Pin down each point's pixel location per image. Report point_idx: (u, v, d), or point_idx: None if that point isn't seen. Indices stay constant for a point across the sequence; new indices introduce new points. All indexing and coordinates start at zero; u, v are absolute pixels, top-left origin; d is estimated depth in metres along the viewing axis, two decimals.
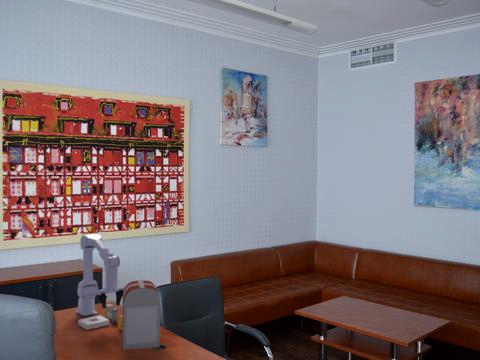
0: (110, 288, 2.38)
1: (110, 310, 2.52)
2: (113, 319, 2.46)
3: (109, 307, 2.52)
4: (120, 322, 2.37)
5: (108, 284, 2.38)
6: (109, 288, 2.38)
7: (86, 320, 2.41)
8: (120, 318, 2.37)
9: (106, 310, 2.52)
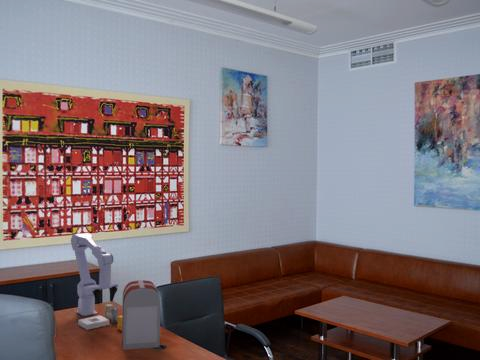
0: (103, 284, 2.47)
1: (110, 310, 2.53)
2: (113, 319, 2.46)
3: (109, 307, 2.52)
4: (119, 322, 2.36)
5: (102, 281, 2.47)
6: (102, 284, 2.47)
7: (86, 320, 2.41)
8: (119, 318, 2.36)
9: (106, 310, 2.52)
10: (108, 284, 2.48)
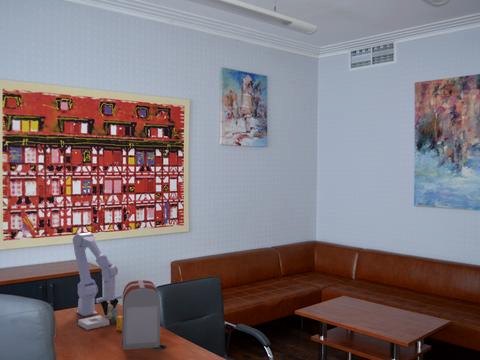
0: (108, 296, 2.51)
1: (110, 310, 2.52)
2: (113, 319, 2.46)
3: (109, 307, 2.52)
4: (118, 323, 2.36)
5: (106, 293, 2.51)
6: (107, 296, 2.51)
7: (86, 320, 2.41)
8: (118, 319, 2.36)
9: None
10: (112, 296, 2.52)
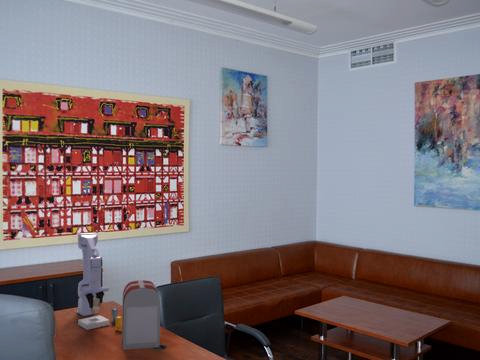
0: (93, 289, 2.40)
1: (96, 304, 2.41)
2: (113, 319, 2.46)
3: (95, 301, 2.41)
4: (117, 323, 2.35)
5: (91, 285, 2.40)
6: (92, 289, 2.40)
7: (86, 320, 2.41)
8: (117, 319, 2.35)
9: None
10: (98, 288, 2.41)
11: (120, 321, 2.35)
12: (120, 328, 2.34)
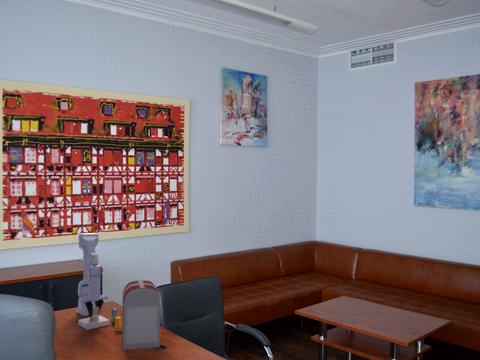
0: (93, 297, 2.40)
1: (95, 312, 2.41)
2: (113, 319, 2.46)
3: (94, 309, 2.40)
4: (116, 324, 2.35)
5: (91, 293, 2.40)
6: (91, 297, 2.39)
7: (86, 320, 2.41)
8: (116, 320, 2.35)
9: None
10: (97, 296, 2.41)
11: (119, 321, 2.35)
12: (119, 328, 2.34)
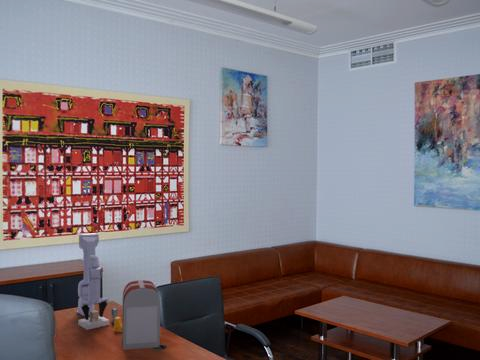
0: (93, 300, 2.40)
1: (95, 316, 2.41)
2: (113, 319, 2.46)
3: (94, 313, 2.41)
4: (116, 324, 2.34)
5: (91, 296, 2.40)
6: (91, 300, 2.40)
7: (86, 320, 2.41)
8: (116, 320, 2.34)
9: (91, 316, 2.41)
10: (97, 299, 2.41)
11: (119, 322, 2.34)
12: (119, 329, 2.33)
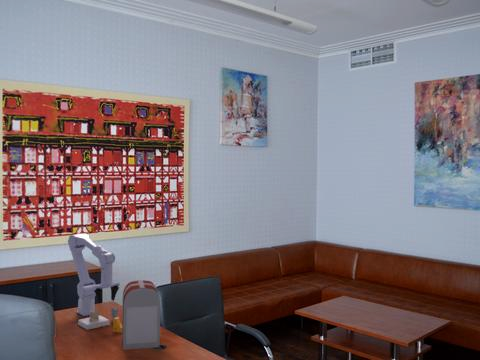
0: (105, 283, 2.49)
1: (95, 317, 2.41)
2: None
3: (94, 313, 2.41)
4: (115, 324, 2.33)
5: (103, 280, 2.49)
6: (104, 283, 2.49)
7: (86, 320, 2.41)
8: (115, 320, 2.33)
9: (91, 316, 2.41)
10: (109, 283, 2.51)
11: (118, 322, 2.34)
12: (118, 329, 2.33)
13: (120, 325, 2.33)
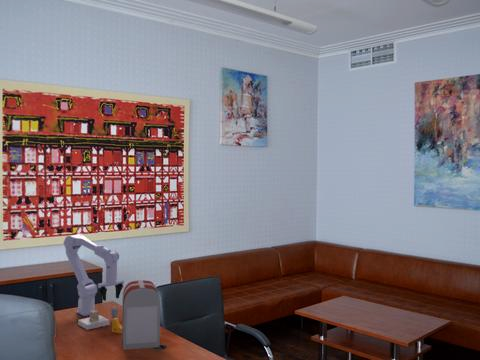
0: (110, 282, 2.53)
1: (95, 316, 2.41)
2: None
3: (94, 313, 2.41)
4: (114, 325, 2.33)
5: (108, 278, 2.53)
6: (109, 282, 2.53)
7: (86, 320, 2.41)
8: (114, 321, 2.33)
9: (91, 316, 2.41)
10: (114, 281, 2.55)
11: (117, 323, 2.33)
12: (117, 330, 2.32)
13: (119, 326, 2.33)
